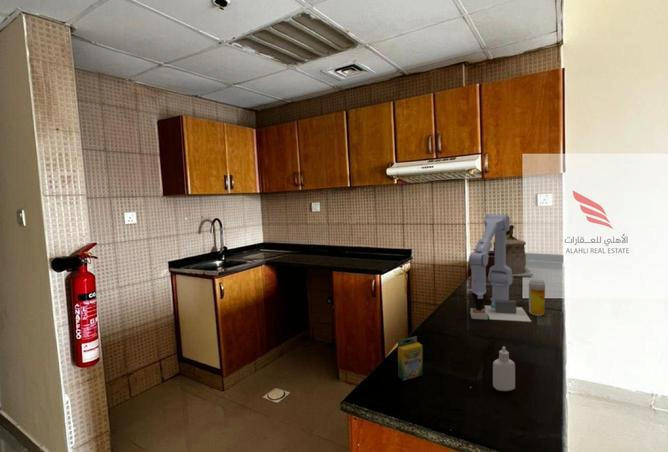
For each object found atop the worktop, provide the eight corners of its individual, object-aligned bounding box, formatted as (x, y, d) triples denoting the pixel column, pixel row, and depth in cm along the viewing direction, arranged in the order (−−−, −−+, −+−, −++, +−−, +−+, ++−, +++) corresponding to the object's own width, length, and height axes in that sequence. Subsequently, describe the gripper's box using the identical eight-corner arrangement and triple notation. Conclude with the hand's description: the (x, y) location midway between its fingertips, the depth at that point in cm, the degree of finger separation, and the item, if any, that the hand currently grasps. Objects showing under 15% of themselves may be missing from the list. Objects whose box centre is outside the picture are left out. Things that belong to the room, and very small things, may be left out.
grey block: (490, 309, 162) (490, 299, 161) (514, 311, 159) (514, 300, 159) (491, 312, 159) (491, 301, 158) (516, 313, 156) (516, 302, 155)
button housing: (470, 313, 159) (470, 308, 159) (485, 314, 157) (485, 309, 157) (471, 318, 153) (471, 313, 153) (487, 319, 151) (487, 313, 151)
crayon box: (403, 381, 106) (402, 344, 104) (397, 376, 108) (396, 340, 107) (423, 375, 108) (422, 339, 107) (417, 371, 111) (416, 335, 110)
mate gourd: (503, 280, 211) (503, 248, 210) (500, 286, 200) (500, 251, 198) (476, 278, 220) (475, 246, 218) (471, 283, 208) (471, 250, 206)
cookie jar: (526, 269, 238) (526, 222, 235) (534, 278, 215) (534, 226, 212) (486, 268, 246) (486, 222, 243) (490, 276, 223) (490, 226, 220)
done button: (473, 312, 158) (473, 308, 157) (483, 313, 156) (482, 308, 156) (474, 315, 154) (474, 311, 154) (483, 316, 153) (483, 311, 153)
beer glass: (546, 316, 152) (547, 282, 150) (531, 316, 153) (531, 282, 151) (541, 311, 158) (541, 279, 156) (526, 311, 159) (526, 279, 157)
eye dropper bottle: (493, 382, 103) (493, 342, 102) (514, 385, 101) (515, 345, 99) (492, 389, 99) (492, 348, 98) (515, 394, 97) (515, 352, 95)
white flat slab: (484, 306, 168) (484, 305, 168) (521, 307, 164) (521, 307, 164) (489, 319, 151) (489, 318, 151) (531, 321, 147) (531, 321, 147)
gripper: (467, 275, 162) (467, 304, 163) (470, 283, 148) (470, 315, 149) (484, 276, 160) (484, 305, 161) (488, 284, 146) (488, 316, 147)
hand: (478, 310), depth 155 cm, fingers closed, pressing on done button
